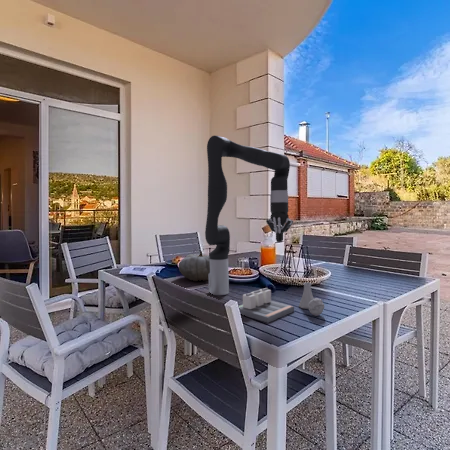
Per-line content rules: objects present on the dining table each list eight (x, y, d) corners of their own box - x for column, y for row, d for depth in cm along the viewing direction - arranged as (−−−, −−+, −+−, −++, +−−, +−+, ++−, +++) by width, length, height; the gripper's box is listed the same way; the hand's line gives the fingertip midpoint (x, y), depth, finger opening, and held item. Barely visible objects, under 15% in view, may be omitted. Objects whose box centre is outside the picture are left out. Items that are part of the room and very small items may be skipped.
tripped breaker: (251, 304, 133) (250, 290, 132) (256, 302, 135) (255, 289, 134) (258, 306, 130) (258, 292, 129) (263, 304, 132) (263, 291, 132)
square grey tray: (234, 312, 130) (234, 307, 130) (261, 302, 142) (261, 298, 142) (267, 322, 118) (267, 317, 118) (294, 311, 130) (294, 306, 130)
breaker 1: (242, 307, 129) (242, 293, 129) (248, 305, 131) (247, 291, 131) (250, 309, 126) (250, 295, 126) (255, 307, 128) (255, 293, 128)
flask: (319, 306, 135) (319, 283, 135) (311, 311, 130) (311, 286, 129) (303, 303, 140) (303, 280, 139) (295, 307, 135) (295, 283, 134)
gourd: (186, 282, 171) (186, 249, 174) (171, 280, 193) (172, 251, 196) (228, 281, 182) (227, 250, 185) (209, 279, 204) (209, 252, 207)
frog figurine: (312, 319, 120) (312, 301, 120) (304, 313, 127) (304, 295, 127) (327, 318, 122) (327, 299, 121) (319, 312, 128) (319, 294, 128)
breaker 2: (258, 301, 136) (258, 288, 136) (263, 299, 138) (263, 287, 138) (266, 303, 133) (266, 290, 133) (271, 301, 135) (270, 288, 135)
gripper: (261, 201, 139) (262, 241, 140) (287, 201, 130) (287, 243, 131) (272, 201, 145) (272, 240, 146) (297, 201, 135) (297, 242, 136)
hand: (279, 241), depth 138 cm, fingers closed
